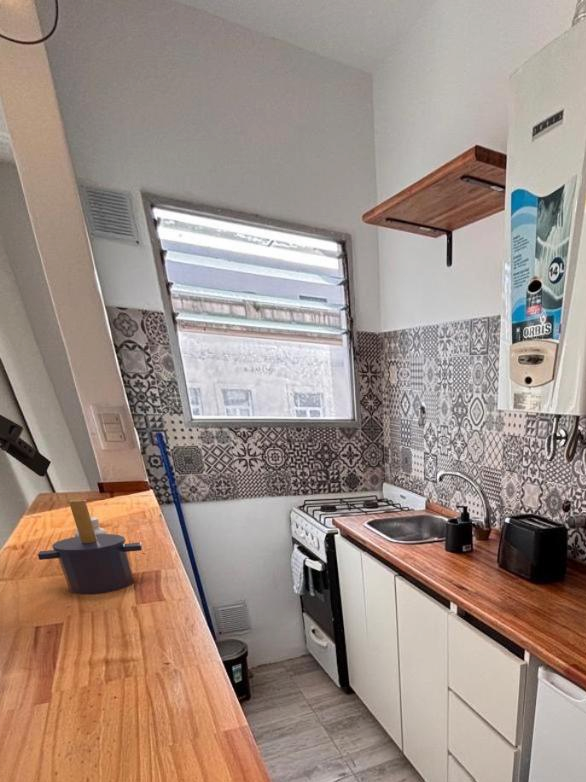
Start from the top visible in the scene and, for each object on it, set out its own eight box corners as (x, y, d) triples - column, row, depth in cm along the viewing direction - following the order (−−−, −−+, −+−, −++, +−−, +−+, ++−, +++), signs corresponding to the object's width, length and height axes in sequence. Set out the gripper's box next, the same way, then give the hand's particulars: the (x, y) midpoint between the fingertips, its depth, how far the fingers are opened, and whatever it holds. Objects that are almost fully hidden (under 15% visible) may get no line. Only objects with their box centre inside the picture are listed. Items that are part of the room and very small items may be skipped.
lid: (59, 543, 97) (43, 496, 93) (127, 537, 102) (115, 493, 98) (49, 559, 89) (31, 508, 85) (124, 552, 94) (111, 503, 90)
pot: (57, 584, 99) (42, 541, 96) (151, 574, 106) (140, 534, 103) (48, 602, 91) (31, 556, 88) (150, 590, 98) (138, 546, 95)
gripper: (-278, 369, 59) (-78, 482, 79) (-87, 376, 57) (70, 491, 77) (-242, 320, 62) (-56, 442, 82) (-57, 326, 59) (88, 450, 79)
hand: (5, 466), depth 79 cm, fingers open, 13 cm apart
